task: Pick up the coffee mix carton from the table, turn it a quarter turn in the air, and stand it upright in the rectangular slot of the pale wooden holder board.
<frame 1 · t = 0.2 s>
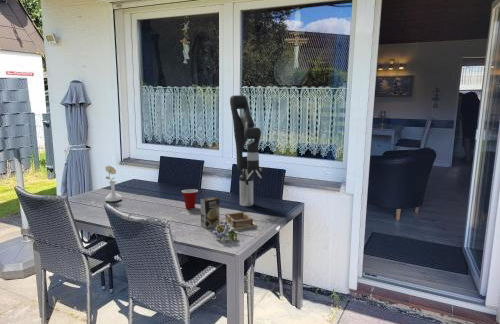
hand: (253, 184, 235), 17 cm above the table, tool pointing down, fingers open, 8 cm apart
holder: (239, 224, 213), on the table
plastic cup: (190, 207, 245), on the table
passion flower: (225, 239, 192), on the table
coffee box: (210, 225, 211), on the table
flower in vase: (113, 200, 262), on the table
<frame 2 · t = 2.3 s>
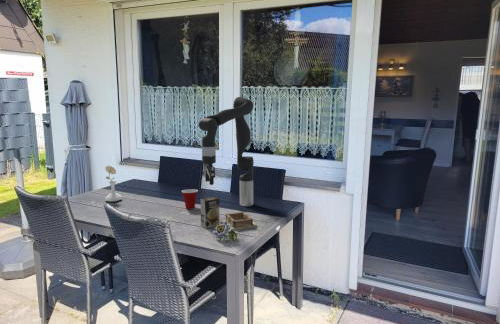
hand: (209, 183, 206), 25 cm above the table, tool pointing down, fingers open, 8 cm apart
nothing on the table moved.
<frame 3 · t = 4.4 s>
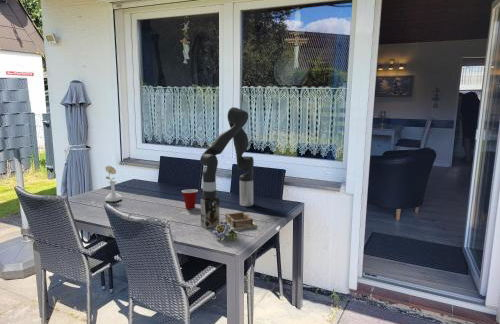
hand: (210, 216, 210), 5 cm above the table, tool pointing down, fingers closed on coffee box, 7 cm apart
coffee box: (210, 225, 211), on the table, touching gripper
everything else where it was.
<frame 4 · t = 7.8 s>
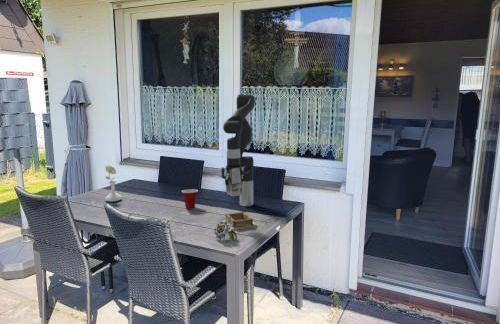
hand: (233, 185, 209), 23 cm above the table, tool pointing down, fingers closed on coffee box, 7 cm apart
coffee box: (234, 194, 210), point 18 cm above the table, touching gripper
everything else where it was.
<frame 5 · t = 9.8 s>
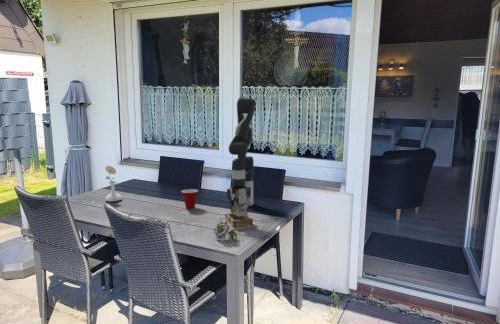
hand: (238, 205, 211), 11 cm above the table, tool pointing down, fingers closed on coffee box, 7 cm apart
coffee box: (239, 214, 212), point 6 cm above the table, touching gripper
everything else where it was.
when the fingers open (7 cm above the table, at t = 11.2 s): coffee box drops 1 cm, resting on holder.
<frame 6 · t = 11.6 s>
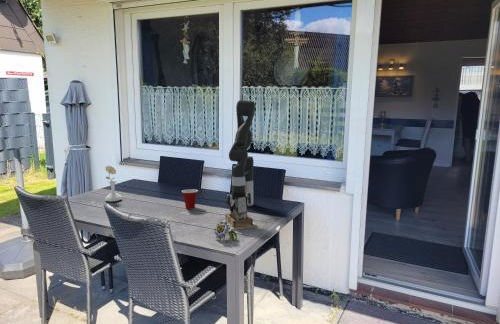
hand: (238, 211, 212), 8 cm above the table, tool pointing down, fingers open, 8 cm apart
coffee box: (238, 222, 213), point 1 cm above the table, touching holder
everything else where it was.
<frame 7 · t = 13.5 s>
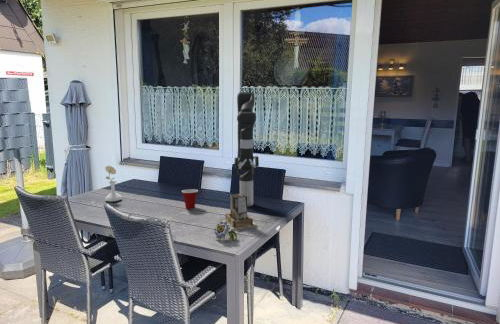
hand: (246, 174, 214), 28 cm above the table, tool pointing down, fingers open, 8 cm apart
nothing on the table moved.
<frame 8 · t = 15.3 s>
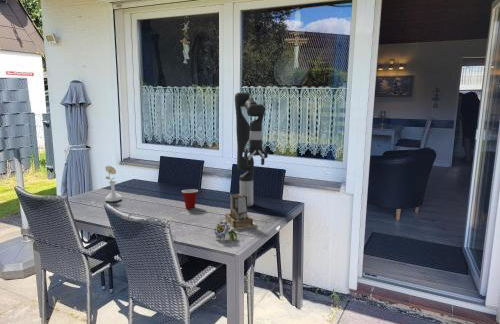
hand: (255, 165, 220), 32 cm above the table, tool pointing down, fingers open, 8 cm apart
nothing on the table moved.
at the end: coffee box 0.1 cm off-centre on the holder, point 0.8 cm above the holder's base; coffee box tilted 0°; the gripper is holding nothing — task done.
